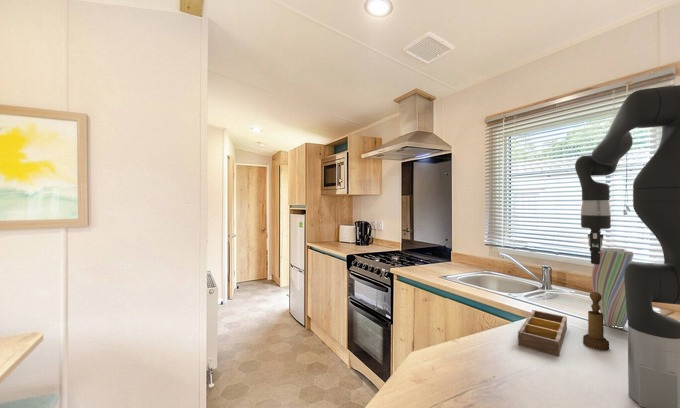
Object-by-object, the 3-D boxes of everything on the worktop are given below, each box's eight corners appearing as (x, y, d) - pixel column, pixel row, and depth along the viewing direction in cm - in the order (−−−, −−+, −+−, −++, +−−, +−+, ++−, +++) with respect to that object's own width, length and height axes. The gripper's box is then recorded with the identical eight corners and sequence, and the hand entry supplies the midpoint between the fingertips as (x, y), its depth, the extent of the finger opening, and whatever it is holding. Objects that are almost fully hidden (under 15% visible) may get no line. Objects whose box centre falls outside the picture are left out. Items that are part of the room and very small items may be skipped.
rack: (558, 356, 91) (558, 342, 91) (518, 345, 98) (518, 331, 98) (566, 328, 111) (566, 316, 111) (532, 320, 119) (532, 309, 119)
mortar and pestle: (586, 347, 96) (585, 293, 96) (580, 339, 102) (580, 288, 102) (612, 352, 93) (612, 296, 93) (605, 344, 99) (605, 291, 99)
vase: (632, 323, 116) (632, 248, 116) (643, 336, 105) (643, 253, 105) (588, 316, 124) (588, 245, 124) (594, 327, 112) (593, 249, 112)
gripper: (611, 214, 90) (611, 267, 90) (610, 213, 100) (610, 260, 100) (579, 214, 95) (579, 264, 95) (582, 213, 106) (582, 257, 105)
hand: (595, 262), depth 98 cm, fingers open, 8 cm apart
